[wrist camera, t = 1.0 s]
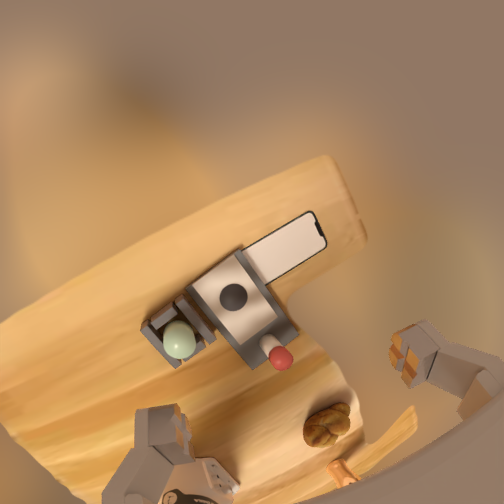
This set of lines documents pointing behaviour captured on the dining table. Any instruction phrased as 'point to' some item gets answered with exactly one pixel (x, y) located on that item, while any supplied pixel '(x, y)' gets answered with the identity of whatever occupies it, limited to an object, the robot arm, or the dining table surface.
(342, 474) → the beer glass
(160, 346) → the button base
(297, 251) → the smartphone
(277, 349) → the marker
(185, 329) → the button
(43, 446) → the dining table surface
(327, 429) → the bread roll
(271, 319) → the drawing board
